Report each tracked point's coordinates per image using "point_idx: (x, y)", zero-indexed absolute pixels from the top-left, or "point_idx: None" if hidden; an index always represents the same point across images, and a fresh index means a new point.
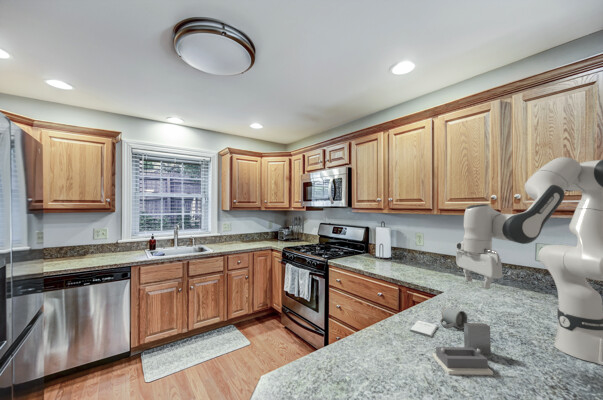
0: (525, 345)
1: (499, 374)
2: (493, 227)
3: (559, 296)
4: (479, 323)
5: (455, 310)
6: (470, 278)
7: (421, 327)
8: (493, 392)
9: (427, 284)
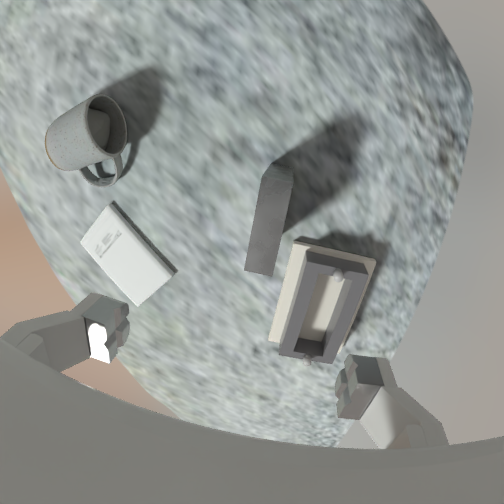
0: (261, 4)
1: (377, 240)
2: None
3: None
4: (258, 205)
5: (77, 142)
6: (114, 331)
7: (124, 269)
8: (411, 309)
9: None
